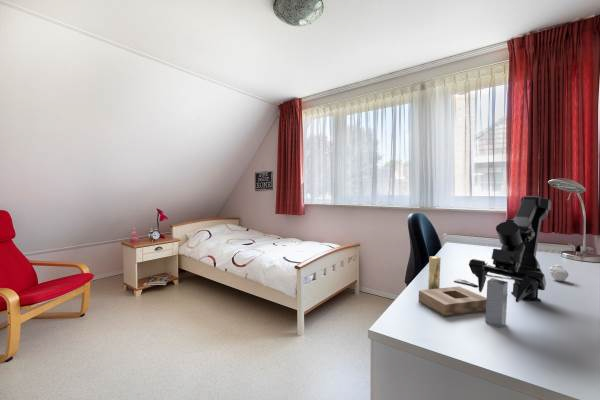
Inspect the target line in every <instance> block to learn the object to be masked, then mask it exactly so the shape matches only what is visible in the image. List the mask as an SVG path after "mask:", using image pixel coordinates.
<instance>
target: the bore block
mask: <svg viewBox="0 0 600 400" xmlns="http://www.w3.org/2000/svg"><path fill="white" fill-rule="evenodd" d="M486 299H487V296H483V295H480V294H478V293H476V292H474V291H472V290H469V289H467V288H464V287H462V286H451V287H439V288H438V289H419V290H418V302H419V303H420V304H422V305H423V306H425V307H427V308H429V309H430V310H432V311H434V312H435V313H437V314H439V315H440V316H442V317H444V318H447V317H455V316H456V317H457V316H461V315H470V314H478V313H486Z"/></svg>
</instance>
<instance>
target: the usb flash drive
mask: <svg viewBox="0 0 600 400" xmlns="http://www.w3.org/2000/svg"><path fill="white" fill-rule="evenodd" d="M453 282H454V283H455V282H459V283H462V284H465V285H467V286H469V287H473V288H479V285H477V284H475V283H473V282H471V281H467V280H465V279H461V278H458V279H455V280H454V281H453Z"/></svg>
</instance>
